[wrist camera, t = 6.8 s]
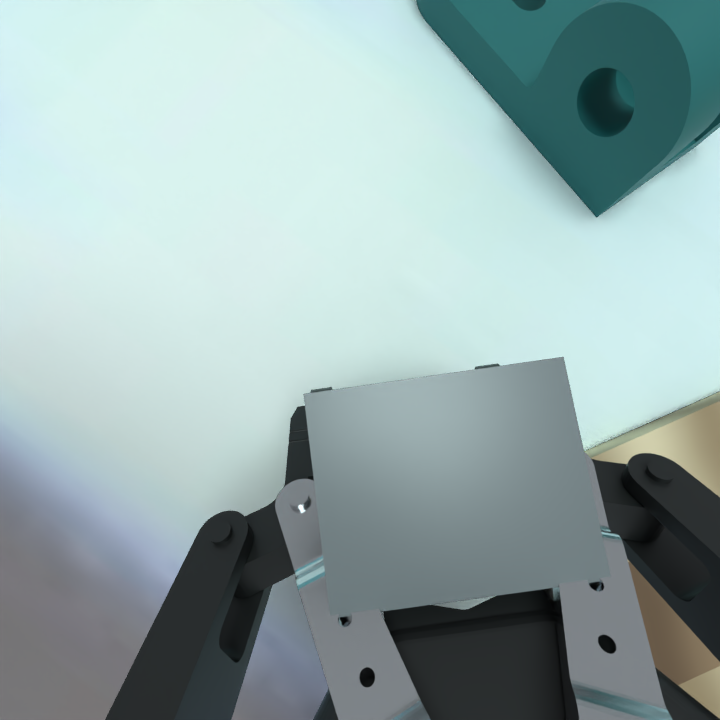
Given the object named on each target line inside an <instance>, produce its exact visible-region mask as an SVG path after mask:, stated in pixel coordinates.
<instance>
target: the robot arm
mask: <svg viewBox="0 0 720 720" xmlns="http://www.w3.org/2000/svg"><path fill="white" fill-rule="evenodd" d="M496 366H500V365H499V364H491V365H484V366H477V367H475V369H482V368H489V367H496ZM328 390H333V389H332V387H329V388H322V389H315V390H311V393H314V392H321V391H328ZM584 454H585V459H586V463H587V468H588V473H589V477H590V482H591V486H592V491H593V496H594V500H595V505H596V509H597V514H598V519H599V523H600V528H601V533H602V537H603V542H604V546H605V551H606V556H607V560H608V565H609V569H610V574H611V577H605V578H599V579H600V581H599V582H592V583H588V580H583V581H576V582H569V583H561V584H559V587H556V588H549V589H541V590H534V591H527V592H520V593H512V594H505V595H498V596H495V597H493V598H491V599H489V600H487V601H485V602H483V603H481V604H479V605H476V606H474V607H472V608H470V609H467V610H460V609H454V608H447V607H441V606H434V605H425V606H418V607H411V608H404V609H396V610H389V611H384V619H383V617H382V615H381V612H380V610H379V609H374V610H367V611H360V612H353V613H351V615H352V616H346V617H339V614H338V615H331V616H330V611H329V602H328V594H327V586H326V577H325V569H324V561H323V552H322V544H321V536H320V527H319V519H318V511H317V502H316V494H315V486H314V477H313V469H312V461H311V452H310V444H309V436H308V427H307V419H306V411H305V406H301V407H297V409H296V411H295V413H294V414H293V416H292V418H291V423H290V434H289V446H288V457H287V468H286V480H285V485H284V488H283V489H282V490H281V491H280V492H279V494H278V496H277V498H276V500H274V501H273V502H272V503H271V504H269V505H268V506H266V507H264V508H262V509H260V510H258V511H256V512H254V513H251V514H249V515H247V516H245V517H244V516H243V515H242V514H241V513H239V512H237V511H224V512H221V513H219V514H216V515H215V516H213V517H211V518H210V519H209V520H208V521H207V522H206V523H205V524H204V525H203V526H202V527H201V529H200V531H199V532H198V534H197V536H196V538H195V540H194V542H193V544H192V546H191V548H190V550H189V552H188V554H187V556H186V558H185V560H184V562H183V564H182V566H181V568H180V570H179V573H178V575H177V577H176V579H175V581H174V583H173V585H172V587H171V589H170V591H169V593H168V595H167V597H166V599H165V601H164V603H163V605H162V607H161V609H160V611H159V613H158V615H157V617H156V619H155V621H154V623H153V625H152V627H151V629H150V631H149V633H148V635H147V637H146V639H145V641H144V643H143V645H142V647H141V649H140V651H139V653H138V655H137V657H136V659H135V661H134V663H133V665H132V667H131V669H130V671H129V673H128V675H127V677H126V679H125V681H124V683H123V685H122V687H121V689H120V691H119V693H118V695H117V697H116V699H115V701H114V703H113V705H112V707H111V709H110V711H109V713H108V715H107V717H106V719H105V720H231V718H232V715H233V712H234V709H235V705H236V702H237V699H238V696H239V692H240V689H241V686H242V683H243V679H244V676H245V673H246V670H247V666H248V663H249V660H250V657H251V653H252V650H253V647H254V644H255V640H256V637H257V634H258V631H259V627H260V624H261V621H262V617H263V614H264V611H265V608H266V604H267V601H268V598H269V595H270V591H271V588H272V585H273V584H275V583H277V582H279V581H281V580H283V579H285V578H287V577H289V576H291V575H293V574H296V583H297V587H298V590H299V593H300V597H301V600H302V603H303V606H304V610H305V613H306V616H307V619H308V623H309V626H310V629H311V632H312V636H313V639H314V642H315V645H316V649H317V652H318V655H319V658H320V662H321V665H322V668H323V671H324V675H325V678H326V681H327V684H328V688H329V689H328V691H327V693H326V695H325V697H324V699H323V701H322V703H321V705H320V707H319V709H318V711H317V713H316V715H315V717H314V719H313V720H720V719H719V718H718V717H717V716H716V715H714V714H713V713H712V712H711V711H709V710H708V709H707V708H706V707H704V706H703V705H702V704H701V703H699V702H698V701H697V700H696V699H694V698H693V697H692V696H691V695H689V694H688V693H687V692H686V691H685V690H683V689H682V688H681V687H680V686H678V685H677V684H676V683H675V682H673V681H672V680H671V679H670V678H668V677H667V676H666V675H665V674H663V673H662V672H661V671H660V670H658V669H657V668H656V667H655V665H654V661H653V657H652V653H651V649H650V645H649V641H648V638H647V634H646V630H645V626H644V622H643V618H642V614H641V610H640V606H639V603H638V599H637V595H636V591H635V587H634V583H633V579H632V575H631V571H630V568H629V564H628V560H629V561H630V562H631V564H632V565H633V566H634V567H635V568H636V569H637V570H638V571H639V572H640V574H641V575H642V576H643V577H644V578H645V579H646V580H647V581H648V582H649V584H650V585H651V586H652V587H653V588H654V589H655V590H656V591H657V593H658V594H659V595H660V596H661V597H662V598H663V599H664V600H665V601H666V603H667V604H668V605H669V606H670V607H671V608H672V609H673V610H674V611H675V613H676V614H677V615H678V616H679V617H680V618H681V619H682V620H683V622H684V623H685V624H686V625H687V626H688V627H689V628H690V629H691V630H692V632H693V633H694V634H695V635H696V636H697V637H698V638H699V639H700V640H701V642H702V643H703V644H704V645H705V646H706V647H707V648H708V649H709V651H710V652H711V653H712V654H713V655H714V656H715V657H716V658H717V659H718V661H719V662H720V497H719V496H718V495H716V494H715V493H714V492H713V491H711V490H710V489H709V488H708V487H706V486H705V485H704V484H702V483H701V482H700V481H699V480H697V479H696V478H695V477H694V476H692V475H691V474H690V473H689V472H687V471H686V470H685V469H684V468H682V467H681V466H680V465H678V464H677V463H676V462H674V461H672V460H670V459H668V458H666V457H664V456H661V455H657V454H652V453H640V454H636V455H634V456H633V457H631V458H630V460H629V461H628V463H627V464H622V463H614V462H606V461H599V460H595V459H591V458H590V457H589V456H588V455H587V454H586V453H585V452H584ZM627 559H628V560H627Z"/></svg>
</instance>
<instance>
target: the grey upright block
mask: <svg viewBox="0 0 720 720" xmlns="http://www.w3.org/2000/svg"><path fill="white" fill-rule="evenodd" d="M304 402H305V411H306V419H307V427H308V436H309V444H310V452H311V461H312V469H313V477H314V486H315V494H316V502H317V511H318V519H319V527H320V536H321V544H322V552H323V561H324V569H325V577H326V586H327V594H328V602H329V611H330V616H331V615H338V614H339V617H346V616H352V615H351V613H353V612H360V611H367V610H374V609H379V610H380V612H382V611H389V610H396V609H404V608H411V607H418V606H425V605H433V604H440V603H447V602H454V601H462V600H469V599H476V598H483V597H491V596H498V595H505V594H512V593H520V592H527V591H534V590H541V589H549V588H556V587H559V584H561V583H569V582H576V581H583V580H588V583H592V582H599V581H600V579H599V578H605V577H611V574H610V569H609V565H608V560H607V556H606V551H605V546H604V542H603V537H602V533H601V528H600V523H599V519H598V514H597V509H596V505H595V500H594V496H593V491H592V486H591V482H590V477H589V473H588V468H587V463H586V459H585V454H584V449H583V445H582V440H581V436H580V431H579V426H578V422H577V417H576V413H575V408H574V403H573V399H572V394H571V390H570V385H569V380H568V376H567V371H566V366H565V362H564V357H559V358H552V359H545V360H538V361H531V362H524V363H517V364H510V365H503V366H496V367H489V368H482V369H475V370H468V371H461V372H454V373H447V374H440V375H433V376H426V377H419V378H412V379H405V380H398V381H391V382H384V383H377V384H370V385H363V386H356V387H349V388H342V389H335V390H328V391H321V392H314V393H307V394H304Z"/></svg>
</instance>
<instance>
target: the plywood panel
mask: <svg viewBox="0 0 720 720" xmlns="http://www.w3.org/2000/svg"><path fill="white" fill-rule="evenodd" d="M584 452H585V453H586V454H587V455H588V456H589V457H590V458H591V459H595V460H599V461H606V462H614V463H622V464H627V463H628V461H629V460H630V458H631V457H633V456H634V455H636V454H640V453H652V454H657V455H661V456H664V457H666V458H668V459H670V460H672V461H674V462H676V463H677V464H678V465H680V466H681V467H682V468H684V469H685V470H686V471H687V472H689V473H690V474H691V475H692V476H694V477H695V478H696V479H697V480H699V481H700V482H701V483H702V484H704V485H705V486H706V487H708V488H709V489H710V490H711V491H713V492H714V493H715V494H716V495H718V496H719V497H720V392H718V393H716V394H713V395H711V396H709V397H707V398H704V399H702V400H700V401H698V402H695V403H693V404H691V405H689V406H686V407H684V408H682V409H679V410H677V411H675V412H673V413H670V414H668V415H666V416H664V417H661V418H659V419H657V420H655V421H652V422H650V423H648V424H646V425H643V426H641V427H639V428H636V429H634V430H632V431H630V432H627V433H625V434H623V435H621V436H618V437H616V438H614V439H612V440H609V441H607V442H605V443H603V444H600V445H598V446H596V447H594V448H591V449H589V450H587V451H584ZM627 560H628V559H627ZM628 564H629V568H630V571H631V575H632V579H633V583H634V587H635V591H636V595H637V599H638V603H639V606H640V610H641V614H642V618H643V622H644V626H645V630H646V634H647V638H648V641H649V645H650V649H651V653H652V657H653V661H654V665H655V667H656V668H657V669H658V670H660V671H661V672H662V673H663V674H665V675H666V676H667V677H668V678H670V679H671V680H672V681H673V682H675V683H676V684H677V685H678V686H680V687H681V688H682V689H683V690H685V691H686V692H687V693H688V694H689V695H691V696H692V697H693V698H694V699H696V700H697V701H698V702H699V703H701V704H702V705H703V706H704V707H706V708H707V709H708V710H709V711H711V712H712V713H713V714H714V715H716V716H717V717H718V718H719V719H720V662H719V661H718V659H717V658H716V657H715V656H714V655H713V654H712V653H711V652H710V651H709V649H708V648H707V647H706V646H705V645H704V644H703V643H702V642H701V640H700V639H699V638H698V637H697V636H696V635H695V634H694V633H693V632H692V630H691V629H690V628H689V627H688V626H687V625H686V624H685V623H684V622H683V620H682V619H681V618H680V617H679V616H678V615H677V614H676V613H675V611H674V610H673V609H672V608H671V607H670V606H669V605H668V604H667V603H666V601H665V600H664V599H663V598H662V597H661V596H660V595H659V594H658V593H657V591H656V590H655V589H654V588H653V587H652V586H651V585H650V584H649V582H648V581H647V580H646V579H645V578H644V577H643V576H642V575H641V574H640V572H639V571H638V570H637V569H636V568H635V567H634V566H633V565H632V564H631V562H630V561H629V560H628Z"/></svg>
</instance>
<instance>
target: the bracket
mask: <svg viewBox="0 0 720 720" xmlns="http://www.w3.org/2000/svg"><path fill="white" fill-rule="evenodd" d="M417 5H418V8H419V10H420V13H421V14H422V16H423V18H424V19H425V21H426V22H427V23H428V24H429V25H430V27H431V28H432V29H433V30H434V31H435V32H436V33H437V35H438V36H439V37H440V38H441V39H442V40H443V41H444V43H445V44H446V45H447V46H448V47H449V48H450V49H451V51H452V52H453V53H454V54H455V55H456V56H457V58H458V59H459V60H460V61H461V62H462V63H463V64H464V66H465V67H466V68H467V69H468V70H469V71H470V72H471V74H472V75H473V76H474V77H475V78H476V79H477V80H478V82H479V83H480V84H481V85H482V86H483V87H484V88H485V90H486V91H487V92H488V93H489V94H490V95H491V97H492V98H493V99H494V100H495V101H496V102H497V103H498V105H499V106H500V107H501V108H502V109H503V110H504V111H505V113H506V114H507V115H508V116H509V117H510V118H511V119H512V121H513V122H514V123H515V124H516V125H517V126H518V128H519V129H520V130H521V131H522V132H523V133H524V134H525V136H526V137H527V138H528V139H529V140H530V141H531V142H532V144H533V145H534V146H535V147H536V148H537V149H538V150H539V152H540V153H541V154H542V155H543V156H544V157H545V158H546V160H547V161H548V162H549V163H550V164H551V165H552V167H553V168H554V169H555V170H556V171H557V172H558V173H559V175H560V176H561V177H562V178H563V179H564V180H565V181H566V183H567V184H568V185H569V186H570V187H571V188H572V189H573V191H574V192H575V193H576V194H577V195H578V196H579V198H580V199H581V200H582V201H583V202H584V203H585V204H586V206H587V207H588V208H589V209H590V210H591V211H592V212H593V214H594V215H595V216H596V217H598V216H599V215H601V214H602V213H603V212H605V211H606V210H608V209H609V208H610V207H612V206H613V205H615V204H616V203H617V202H619V201H620V200H622V199H623V198H624V197H626V196H627V195H629V194H630V193H631V192H633V191H634V190H636V189H637V188H638V187H640V186H641V185H643V184H644V183H645V182H647V181H648V180H650V179H651V178H652V177H654V176H655V175H657V174H658V173H659V172H661V171H662V170H664V169H665V168H666V167H668V166H669V165H671V164H672V163H673V162H675V161H676V160H678V159H679V158H680V157H682V156H683V155H684V154H686V153H687V152H689V151H690V150H691V149H693V148H694V147H696V146H697V145H698V144H699V143H701V142H702V141H703V140H704V139H706V138H707V137H708V136H709V135H710V134H712V133H713V132H714V131H715V130H717V129H718V128H719V127H720V0H417Z"/></svg>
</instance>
